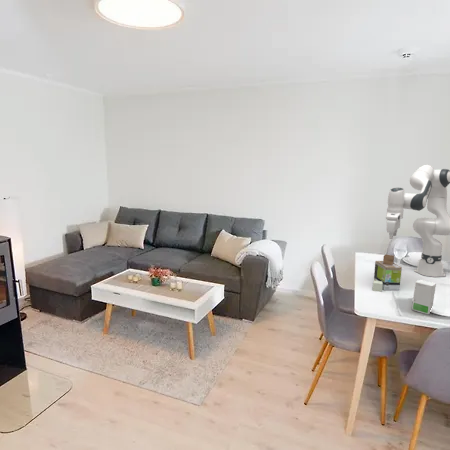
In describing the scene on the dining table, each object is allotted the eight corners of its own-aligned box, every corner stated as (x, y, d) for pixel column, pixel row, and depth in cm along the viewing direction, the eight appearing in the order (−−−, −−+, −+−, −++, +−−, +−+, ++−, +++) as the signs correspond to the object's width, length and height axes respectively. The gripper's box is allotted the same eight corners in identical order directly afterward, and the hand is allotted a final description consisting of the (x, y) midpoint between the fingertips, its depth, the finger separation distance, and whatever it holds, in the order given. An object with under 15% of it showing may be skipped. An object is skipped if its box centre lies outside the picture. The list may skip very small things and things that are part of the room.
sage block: (372, 288, 209) (373, 280, 208) (381, 289, 207) (382, 281, 207) (372, 290, 205) (373, 282, 204) (382, 291, 203) (382, 284, 202)
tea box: (400, 290, 205) (402, 267, 202) (383, 290, 205) (385, 267, 202) (388, 282, 220) (390, 260, 217) (373, 282, 220) (374, 260, 217)
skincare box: (411, 310, 177) (414, 281, 174) (415, 306, 182) (418, 278, 179) (429, 315, 171) (432, 285, 169) (433, 311, 176) (436, 282, 173)
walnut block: (384, 262, 213) (385, 254, 212) (393, 263, 210) (394, 255, 209) (383, 263, 209) (383, 256, 208) (391, 265, 206) (392, 257, 205)
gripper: (392, 212, 214) (390, 233, 217) (385, 216, 198) (383, 239, 201) (403, 213, 210) (401, 235, 213) (397, 217, 194) (395, 241, 197)
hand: (392, 237), depth 207 cm, fingers open, 8 cm apart
